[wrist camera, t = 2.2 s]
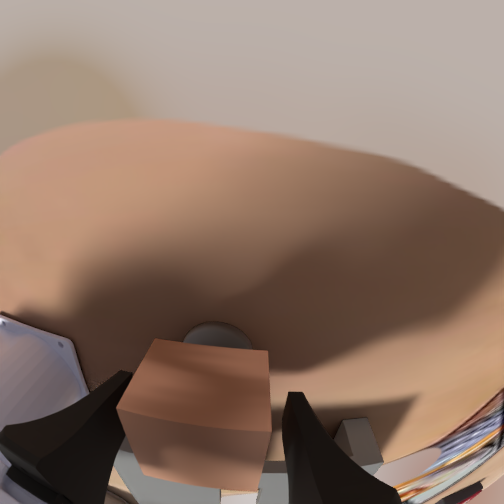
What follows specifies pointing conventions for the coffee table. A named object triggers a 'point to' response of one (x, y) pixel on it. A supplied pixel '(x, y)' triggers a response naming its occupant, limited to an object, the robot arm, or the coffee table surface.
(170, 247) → the coffee table surface
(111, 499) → the coffee pot
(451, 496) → the red and grey box
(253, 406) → the peg
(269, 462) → the keyhole plate
